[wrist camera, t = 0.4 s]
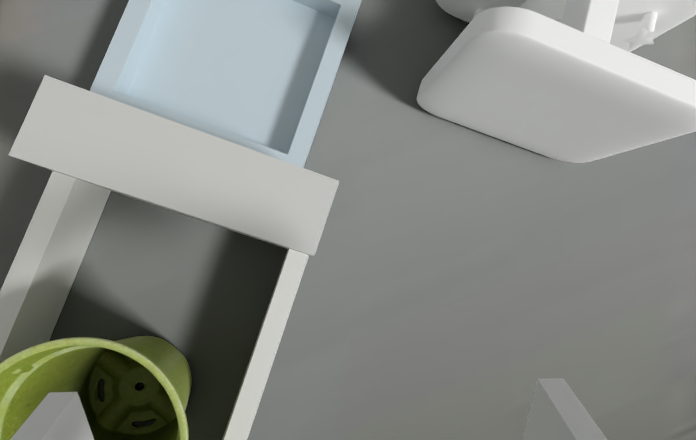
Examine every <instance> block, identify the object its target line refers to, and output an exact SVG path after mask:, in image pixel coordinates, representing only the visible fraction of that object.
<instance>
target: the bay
mask: <svg viewBox="0 0 696 440" xmlns="http://www.w3.org/2000/svg"><path fill="white" fill-rule="evenodd" d="M9 156H12V157H15V158H18V159H20V160H23V161H26V162H29V163H32V164H35V165H37V166H40V167H43V168H46V169H49V170H52V174H51V176H50V178H49V181H48V183H47V185H46V188H45V190H44V192H43V194H42V197H41V199H40V201H39V204H38V206H37V208H36V210H35V213H34V215H33V217H32V220H31V222H30V224H29V226H28V229H27V231H26V233H25V236H24V238H23V240H22V243H21V245H20V247H19V249H18V252H17V254H16V256H15V259H14V261H13V263H12V265H11V268H10V270H9V272H8V275H7V277H6V279H5V281H4V284H3V286H2V288H1V291H0V363H2V362H3V361H4V360H6V359H7V358H9V357H11V356H13V355H15V354H16V353H18V352H21V351H23V350H25V349H27V348H30V347H32V346H35V345H38V344H41V343H45V342H48V341H49V340H50V338H51V335H52V333H53V330H54V328H55V326H56V323H57V321H58V318H59V316H60V313H61V311H62V309H63V306H64V304H65V301H66V299H67V296H68V294H69V292H70V289H71V287H72V284H73V282H74V280H75V277H76V275H77V272H78V270H79V267H80V265H81V263H82V260H83V258H84V255H85V253H86V250H87V248H88V246H89V243H90V241H91V238H92V236H93V234H94V231H95V229H96V226H97V224H98V221H99V219H100V217H101V214H102V212H103V209H104V207H105V204H106V202H107V200H108V197H109V195H110V192H111V191H112V192H115V193H119V194H122V195H125V196H128V197H131V198H134V199H137V200H140V201H143V202H146V203H149V204H152V205H155V206H158V207H161V208H164V209H167V210H170V211H173V212H176V213H179V214H182V215H185V216H188V217H192V218H195V219H198V220H201V221H204V222H207V223H210V224H213V225H216V226H219V227H222V228H225V229H228V230H231V231H234V232H237V233H240V234H243V235H246V236H249V237H252V238H255V239H258V240H262V241H265V242H268V243H271V244H274V245H277V246H280V247H283V248H286V249H288V250H287V253H286V255H285V258H284V261H283V264H282V267H281V270H280V273H279V276H278V279H277V282H276V285H275V287H274V290H273V293H272V296H271V299H270V302H269V305H268V308H267V311H266V314H265V316H264V319H263V322H262V325H261V328H260V331H259V334H258V337H257V340H256V343H255V346H254V348H253V351H252V354H251V357H250V360H249V363H248V366H247V369H246V372H245V375H244V377H243V380H242V383H241V386H240V389H239V392H238V395H237V398H236V401H235V404H234V406H233V409H232V412H231V415H230V418H229V421H228V424H227V427H226V430H225V433H224V436H223V438H222V440H247V438H248V435H249V432H250V429H251V426H252V423H253V420H254V417H255V414H256V411H257V409H258V406H259V403H260V400H261V397H262V394H263V391H264V388H265V385H266V382H267V379H268V376H269V373H270V370H271V367H272V364H273V361H274V358H275V355H276V352H277V349H278V346H279V343H280V340H281V337H282V334H283V331H284V328H285V325H286V322H287V319H288V316H289V313H290V310H291V307H292V304H293V301H294V299H295V296H296V293H297V290H298V287H299V284H300V281H301V278H302V275H303V272H304V269H305V266H306V263H307V260H308V257H309V255H311V256H315V253H316V250H317V247H318V244H319V241H320V238H321V235H322V232H323V229H324V226H325V223H326V220H327V217H328V214H329V211H330V208H331V205H332V202H333V199H334V196H335V193H336V190H337V187H338V184H339V181H338V180H335V179H332V178H329V177H326V176H324V175H321V174H318V173H315V172H313V171H310V170H307V169H304V168H302V167H299V166H296V165H293V164H290V163H288V162H285V161H282V160H279V159H277V158H274V157H271V156H268V155H265V154H263V153H260V152H257V151H254V150H252V149H249V148H246V147H243V146H241V145H238V144H235V143H232V142H229V141H227V140H224V139H221V138H218V137H216V136H213V135H210V134H207V133H204V132H202V131H199V130H196V129H193V128H191V127H188V126H185V125H182V124H180V123H177V122H174V121H171V120H168V119H166V118H163V117H160V116H157V115H155V114H152V113H149V112H146V111H143V110H141V109H138V108H135V107H132V106H130V105H127V104H124V103H121V102H119V101H116V100H113V99H110V98H107V97H105V96H102V95H99V94H96V93H94V92H91V91H88V90H85V89H83V88H80V87H77V86H74V85H71V84H69V83H66V82H63V81H60V80H58V79H55V78H52V77H49V76H46V75H45V76H44V78H43V80H42V82H41V85H40V87H39V89H38V91H37V93H36V96H35V98H34V100H33V102H32V104H31V107H30V109H29V111H28V113H27V115H26V118H25V120H24V122H23V124H22V126H21V129H20V131H19V133H18V135H17V137H16V140H15V142H14V144H13V146H12V148H11V151H10V153H9Z"/></svg>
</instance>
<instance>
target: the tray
mask: <svg viewBox="0 0 696 440" xmlns="http://www.w3.org/2000/svg"><path fill="white" fill-rule="evenodd" d="M361 1H362V0H129V2H128V4H127V6H126V8H125V11H124V13H123V15H122V18H121V20H120V22H119V25H118V27H117V29H116V31H115V34H114V36H113V38H112V41H111V43H110V45H109V47H108V50H107V52H106V54H105V57H104V59H103V61H102V64H101V66H100V68H99V70H98V73H97V75H96V77H95V80H94V82H93V84H92V86H91V89H90V91H91V92H94V93H96V94H99V95H102V96H105V97H107V98H110V99H113V100H116V101H119V102H121V103H124V104H127V105H130V106H132V107H135V108H138V109H141V110H143V111H146V112H149V113H152V114H155V115H157V116H160V117H163V118H166V119H168V120H171V121H174V122H177V123H180V124H182V125H185V126H188V127H191V128H193V129H196V130H199V131H202V132H204V133H207V134H210V135H213V136H216V137H218V138H221V139H224V140H227V141H229V142H232V143H235V144H238V145H241V146H243V147H246V148H249V149H252V150H254V151H257V152H260V153H263V154H265V155H268V156H271V157H274V158H277V159H279V160H282V161H285V162H288V163H290V164H293V165H296V166H299V167H302V168H304V165H305V163H306V160H307V157H308V154H309V151H310V148H311V145H312V142H313V140H314V137H315V134H316V131H317V128H318V125H319V122H320V120H321V117H322V114H323V111H324V108H325V105H326V102H327V99H328V97H329V94H330V91H331V88H332V85H333V82H334V79H335V76H336V74H337V71H338V68H339V65H340V62H341V59H342V56H343V54H344V51H345V48H346V45H347V42H348V39H349V36H350V33H351V31H352V28H353V25H354V22H355V19H356V16H357V13H358V10H359V7H360V4H361Z"/></svg>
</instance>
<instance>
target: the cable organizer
mask: <svg viewBox="0 0 696 440" xmlns="http://www.w3.org/2000/svg"><path fill="white" fill-rule="evenodd" d="M436 2H437V3H438V5H439V6H440V7H441V8H442V9H443V10H444V11H446V12H447V13H449V14H450V15H452V16H454V17H457V18H459V19H461V20H464V21H466V22H469V24H468V25H467V27H466V28H465V29H464V30H463V31H462V33H461V34H460V35H459V36H458V37H457V39H456V40H455V41H454V42H453V43H452V45H451V46H450V47H449V48H448V49H447V51H446V52H445V53H444V54H443V55H442V57H441V58H440V59H439V60H438V61H437V63H436V64H435V65H434V66H433V67H432V68H431V70H430V71H429V72H428V73H427V74H426V76H425V77H424V78H423V79H422V81H421V84H420V88H419V91H418V95H417V102H418V104H419V105H420V106H421V107H422V108H423V109H424V110H426V111H427V112H429V113H431V114H433V115H435V116H438V117H441V118H443V119H446V120H449V121H452V122H454V123H457V124H460V125H462V126H465V127H468V128H471V129H473V130H476V131H479V132H481V133H484V134H487V135H490V136H492V137H495V138H498V139H500V140H503V141H506V142H509V143H511V144H514V145H517V146H519V147H522V148H525V149H528V150H530V151H533V152H536V153H538V154H541V155H544V156H547V157H549V158H552V159H556V160H560V161H566V162H575V163H583V162H590V161H594V160H597V159H601V158H604V157H608V156H611V155H615V154H618V153H622V152H625V151H629V150H632V149H636V148H639V147H643V146H646V145H650V144H653V143H656V142H660V141H663V140H667V139H670V138H674V137H677V136H681V135H684V134H688V133H691V132H695V131H696V80H694V79H692V78H689V77H687V76H685V75H682V74H680V73H678V72H675V71H673V70H670V69H668V68H666V67H663V66H661V65H659V64H656V63H654V62H652V61H649V60H647V59H645V58H642V57H640V56H638V55H635V54H633V53H631V51H633V50H635V49H636V48H638V47H640V46H642V45H643V44H654V43H653V39H654V38H656V37H658V36H659V35H661V34H663V33H665V32H666V31H668V30H670V29H672V28H674V27H675V26H677V25H679V24H681V23H682V22H684V21H686V20H688V19H689V18H691V17H693V16H695V15H696V0H436Z"/></svg>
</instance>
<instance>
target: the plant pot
mask: <svg viewBox="0 0 696 440" xmlns="http://www.w3.org/2000/svg"><path fill="white" fill-rule="evenodd" d="M100 379H103V380H104V396H105V400H104V401H103V402H101V401H100V400H99V398H98V395H97V386H98V382H99V380H100ZM137 383H143V384H144V388H143V389H142V390H136V388H135V386H136V384H137ZM191 383H192V377H191V371H190V367H189V364H188V362H187V360H186V358H185V357H184V355H183V354H182V353H181V352H180V351H179V350H178V349H177V348H175V347H174V346H173V345H171V344H170V343H169V342H167V341H166V340H164V339H161V338H158V337H152V336H136V337H131V338H126V339H121V340H117V341H112V340H108V339H102V338H96V337H71V338H63V339H58V340H53V341H48V342H45V343H41V344H38V345H35V346H32V347H30V348H27V349H25V350H23V351H21V352H18V353H16V354H15V355H13V356H11V357H9V358H7V359H6V360H4V361H3V362H2V363H0V440H10V439H11V438H12V437H13V435H14V434H15V433H16V432H17V431H18V429H19V428H20V427H21V426H22V425H23V423H24V422H25V421H26V420H27V419H28V417H29V416H30V415H31V414H32V413H33V411H34V410H35V409H36V408H37V407H38V405H39V404H40V403H41V402H42V401H43V399H44V398H45V397H46V396H47V395H48V393H51V392H78V395H79V398H80V401H81V404H82V406H83V409H84V412H85V415H86V418H87V421H88V423H89V426H90V429H91V432H92V435H93V438H94V440H188V439H189V433H188V423H187V418H186V413H185V410H186V407H187V403H188V399H189V395H190V392H191ZM152 419H155V421H154V423H153V424H151V425H148V426H143V427H135V426H133V424H132V423H133V422H136V421H149V420H152Z"/></svg>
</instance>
